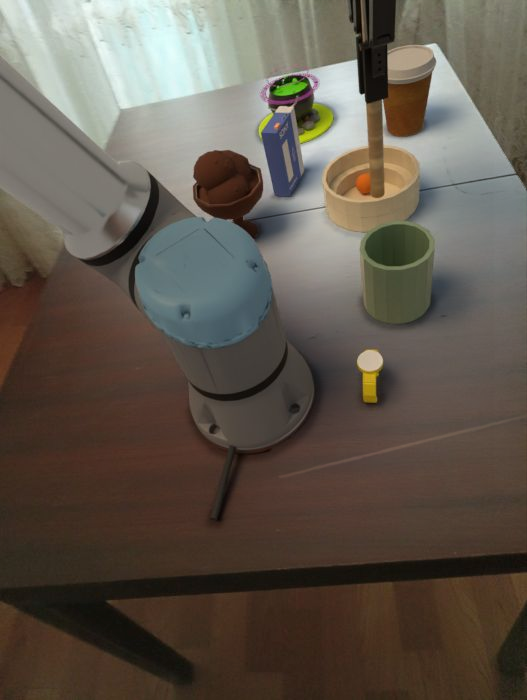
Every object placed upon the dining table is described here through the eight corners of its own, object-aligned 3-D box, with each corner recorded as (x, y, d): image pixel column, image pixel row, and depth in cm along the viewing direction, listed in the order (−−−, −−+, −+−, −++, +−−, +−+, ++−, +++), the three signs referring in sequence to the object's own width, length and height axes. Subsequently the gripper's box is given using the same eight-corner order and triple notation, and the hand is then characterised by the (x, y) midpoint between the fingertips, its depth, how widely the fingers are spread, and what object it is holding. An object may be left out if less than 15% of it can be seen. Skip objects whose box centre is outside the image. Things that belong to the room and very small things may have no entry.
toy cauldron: (249, 121, 103) (236, 66, 95) (316, 96, 104) (309, 39, 95) (271, 154, 94) (259, 96, 85) (345, 127, 94) (340, 66, 86)
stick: (386, 196, 73) (381, -9, 53) (373, 199, 73) (363, -3, 53) (382, 188, 74) (375, -14, 54) (369, 192, 75) (358, -9, 55)
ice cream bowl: (269, 254, 77) (246, 169, 65) (202, 256, 80) (169, 174, 68) (281, 210, 83) (262, 125, 71) (218, 213, 86) (190, 132, 74)
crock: (440, 316, 63) (446, 257, 55) (375, 333, 63) (372, 277, 56) (416, 273, 68) (419, 213, 60) (356, 289, 69) (351, 232, 61)
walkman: (289, 197, 85) (276, 130, 75) (274, 196, 86) (259, 130, 76) (305, 169, 89) (294, 103, 79) (291, 169, 90) (278, 103, 80)
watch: (361, 367, 61) (358, 337, 56) (385, 368, 60) (384, 337, 55) (358, 410, 57) (355, 381, 53) (383, 411, 56) (382, 382, 52)
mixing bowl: (432, 219, 74) (434, 184, 69) (339, 245, 75) (335, 212, 70) (400, 169, 83) (400, 135, 78) (317, 192, 84) (313, 160, 79)
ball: (377, 194, 79) (377, 177, 77) (359, 199, 79) (358, 183, 77) (372, 183, 81) (371, 167, 79) (354, 188, 81) (353, 172, 79)
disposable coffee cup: (374, 142, 89) (371, 73, 80) (382, 114, 94) (380, 46, 85) (429, 141, 86) (433, 69, 77) (435, 111, 91) (439, 40, 82)
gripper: (436, -175, 39) (424, 113, 57) (378, -189, 49) (384, 62, 67) (343, -144, 40) (361, 132, 58) (304, -164, 49) (329, 79, 67)
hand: (373, 94), depth 62 cm, fingers closed on stick, 2 cm apart
